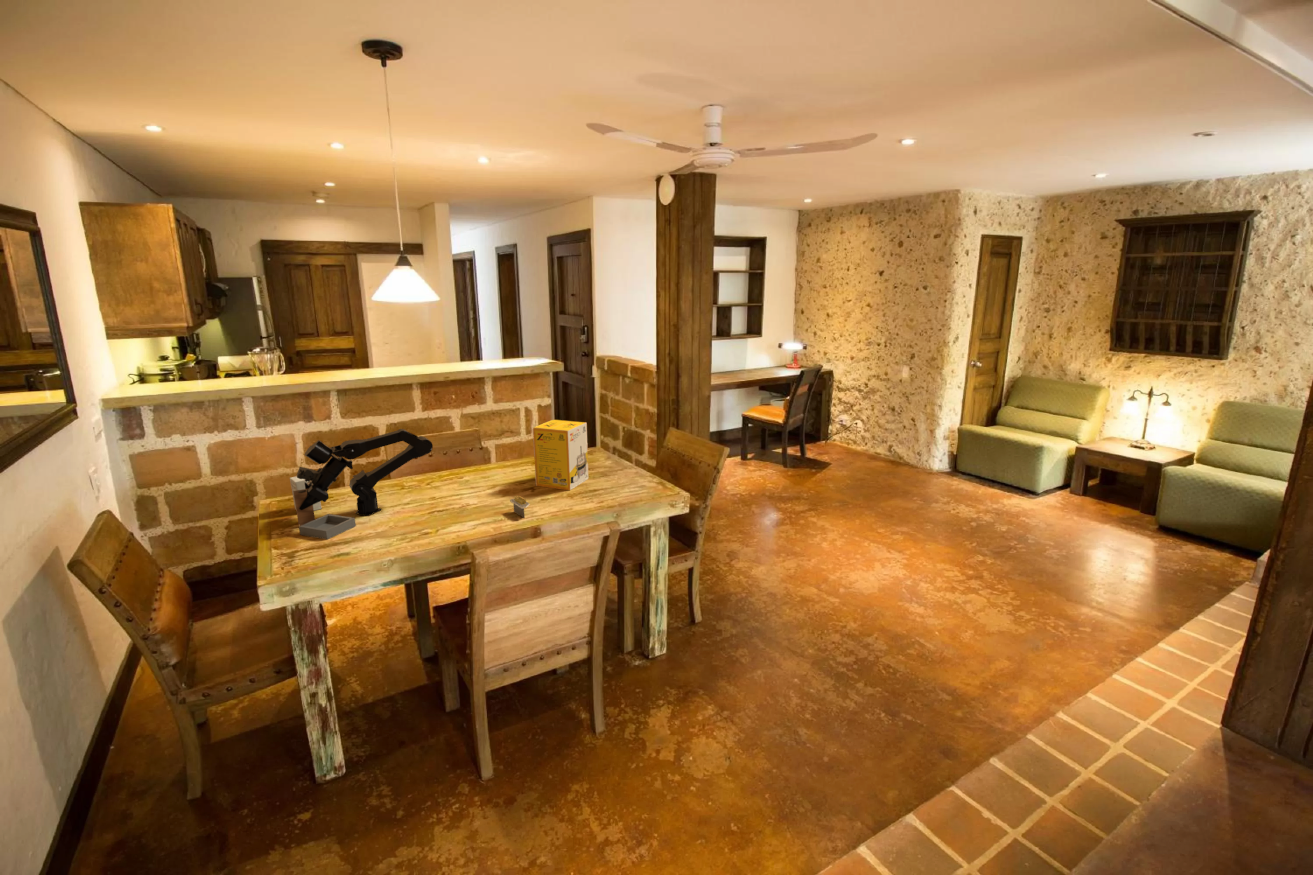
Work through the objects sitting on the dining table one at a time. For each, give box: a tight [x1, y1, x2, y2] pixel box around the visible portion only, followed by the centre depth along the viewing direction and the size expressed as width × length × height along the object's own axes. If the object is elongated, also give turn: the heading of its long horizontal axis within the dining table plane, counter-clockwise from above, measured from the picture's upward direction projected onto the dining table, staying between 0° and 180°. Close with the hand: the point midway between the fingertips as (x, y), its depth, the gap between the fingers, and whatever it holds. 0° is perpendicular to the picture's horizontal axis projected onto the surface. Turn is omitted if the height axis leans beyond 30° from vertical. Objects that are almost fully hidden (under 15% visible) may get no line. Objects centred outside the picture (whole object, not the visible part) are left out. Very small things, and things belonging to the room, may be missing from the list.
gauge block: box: [293, 489, 316, 527], centre depth 211 cm, size 5×5×12 cm
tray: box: [298, 513, 357, 540], centre depth 206 cm, size 12×12×3 cm
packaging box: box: [532, 419, 589, 491], centre depth 253 cm, size 16×16×25 cm
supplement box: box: [289, 475, 322, 511], centre depth 225 cm, size 7×7×13 cm
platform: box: [509, 495, 530, 519], centre depth 220 cm, size 12×18×7 cm, turn 40°
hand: (299, 507), depth 210 cm, fingers closed on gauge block, 5 cm apart
